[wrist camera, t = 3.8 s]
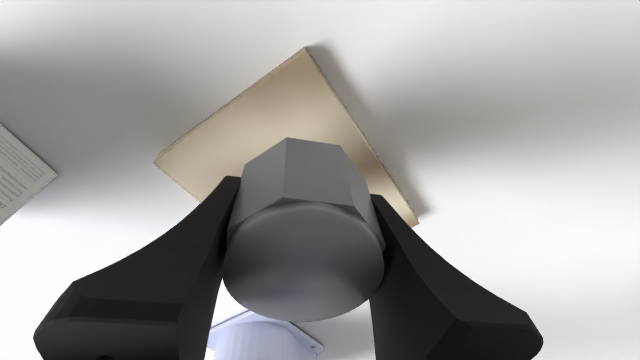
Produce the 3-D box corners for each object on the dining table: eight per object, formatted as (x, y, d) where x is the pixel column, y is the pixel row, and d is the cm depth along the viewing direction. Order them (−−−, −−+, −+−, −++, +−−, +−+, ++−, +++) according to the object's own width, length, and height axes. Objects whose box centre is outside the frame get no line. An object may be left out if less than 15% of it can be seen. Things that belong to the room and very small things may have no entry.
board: (414, 213, 21) (419, 223, 20) (296, 271, 24) (296, 282, 23) (304, 46, 15) (305, 51, 14) (159, 153, 17) (153, 162, 17)
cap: (381, 202, 14) (410, 285, 11) (290, 249, 16) (288, 337, 12) (319, 116, 12) (328, 186, 8) (217, 182, 13) (185, 267, 9)
